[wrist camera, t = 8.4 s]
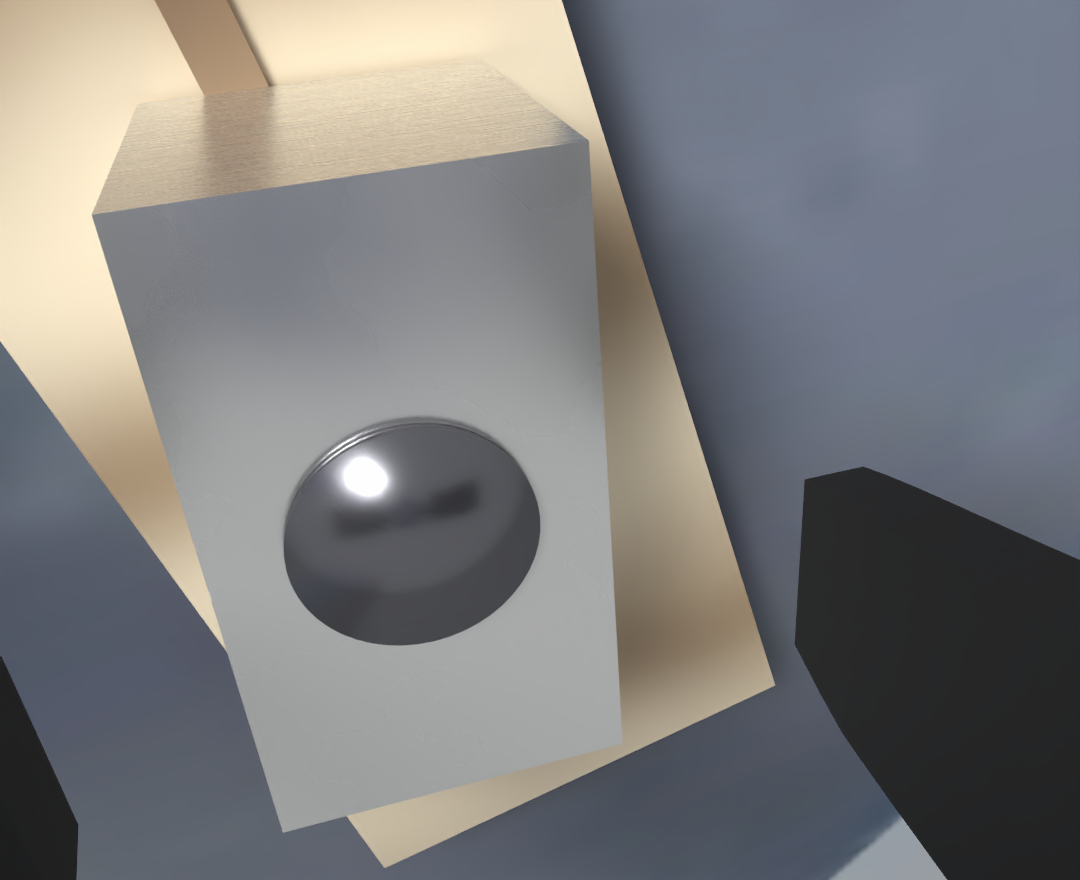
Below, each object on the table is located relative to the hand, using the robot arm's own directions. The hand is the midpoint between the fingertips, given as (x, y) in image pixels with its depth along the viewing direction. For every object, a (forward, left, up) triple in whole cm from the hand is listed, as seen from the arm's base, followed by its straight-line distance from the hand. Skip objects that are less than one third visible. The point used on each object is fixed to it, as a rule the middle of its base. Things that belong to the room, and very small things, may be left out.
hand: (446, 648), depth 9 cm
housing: (0, 0, -7) cm, 7 cm away
